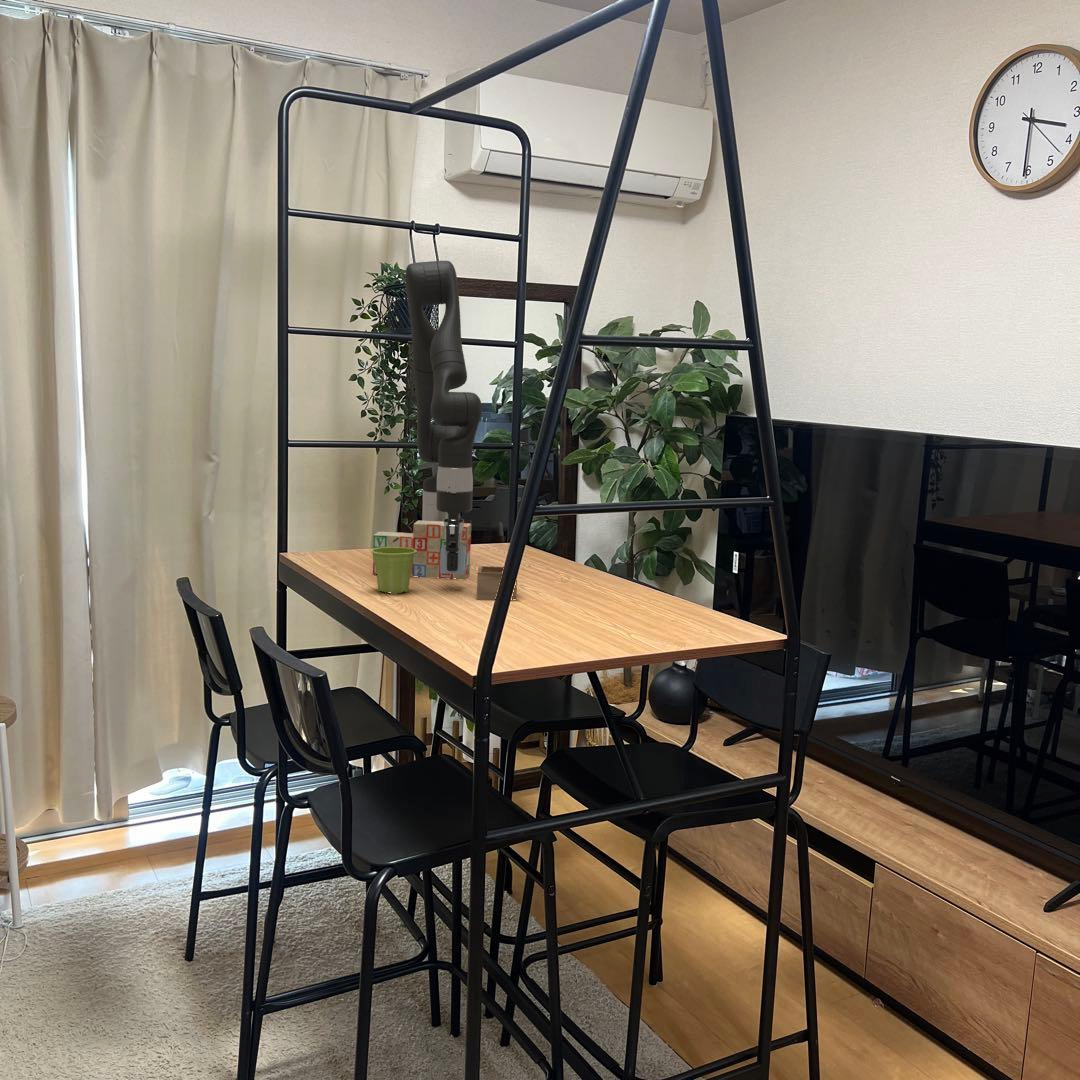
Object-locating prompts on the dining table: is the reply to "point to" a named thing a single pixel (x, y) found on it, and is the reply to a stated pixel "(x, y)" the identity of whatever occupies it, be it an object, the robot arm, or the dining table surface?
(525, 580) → the dining table surface
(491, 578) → the walnut base
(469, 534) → the stack of blocks
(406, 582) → the plant pot
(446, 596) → the dining table surface
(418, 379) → the robot arm
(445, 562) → the bluegrey cube
